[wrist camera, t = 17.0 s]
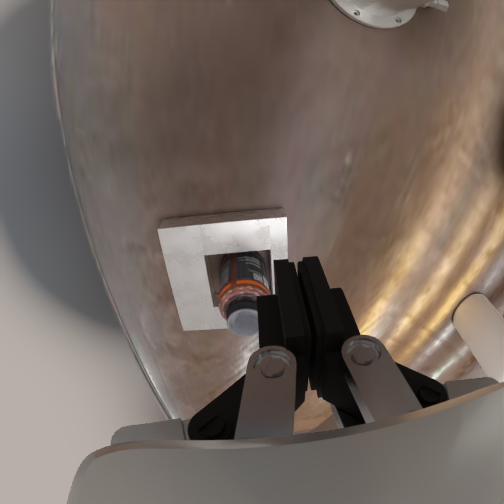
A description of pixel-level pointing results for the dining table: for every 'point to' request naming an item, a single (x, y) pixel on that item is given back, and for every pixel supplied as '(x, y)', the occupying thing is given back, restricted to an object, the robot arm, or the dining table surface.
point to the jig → (209, 243)
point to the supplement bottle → (242, 291)
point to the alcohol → (482, 333)
